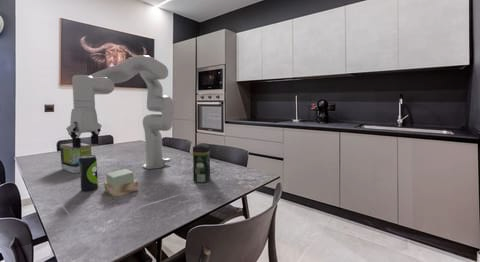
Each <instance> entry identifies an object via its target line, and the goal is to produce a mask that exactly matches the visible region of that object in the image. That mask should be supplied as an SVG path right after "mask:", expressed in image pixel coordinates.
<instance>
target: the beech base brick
mask: <svg viewBox="0 0 480 262" xmlns="http://www.w3.org/2000/svg"><path fill="white" fill-rule="evenodd" d="M103 185H104V190H105V192H106V193H107V194H109V195H110V196H112V197H113V198H116V197H119V196H123V195H127V194H130V193H133V192H136V191H139V182H138V180H137V179H135V178H134V181H133V182H130V183H126V184H123V185H120V186H116V187H113V186H112V185H110V184H109V183H107V181H106V182H104V183H103Z"/></svg>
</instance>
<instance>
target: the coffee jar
mask: <svg viewBox="0 0 480 262" xmlns="http://www.w3.org/2000/svg"><path fill="white" fill-rule="evenodd" d="M210 147H211V146H210V144H209V143H207V142H206V143H205V142H199V143H198V144H195V145H194V146H192V163H193V164H192V169H193V171H192V172H193V173H192V176H193V177H192V181H193V182H194V183H197V184H202V183H208V182H209V181H210V179H211V158H210V157H211V149H210Z"/></svg>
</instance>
